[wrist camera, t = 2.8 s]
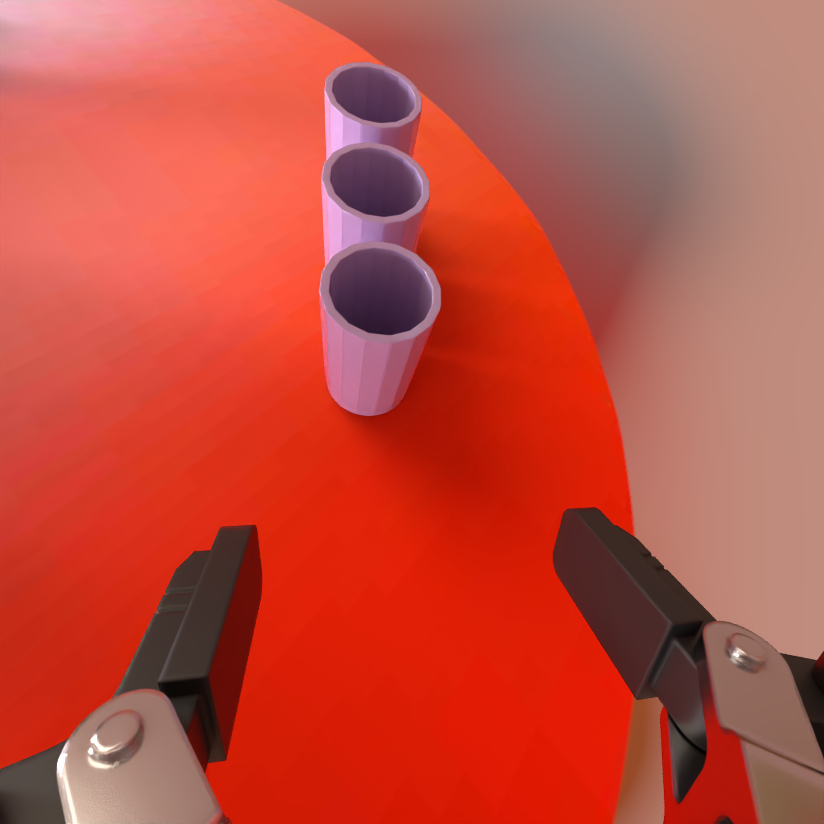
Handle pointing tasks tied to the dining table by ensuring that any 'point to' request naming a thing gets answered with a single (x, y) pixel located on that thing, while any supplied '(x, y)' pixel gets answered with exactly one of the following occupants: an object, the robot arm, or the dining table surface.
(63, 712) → the dining table surface
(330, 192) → the middle cup
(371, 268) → the end cup
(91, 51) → the dining table surface
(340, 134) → the cup
